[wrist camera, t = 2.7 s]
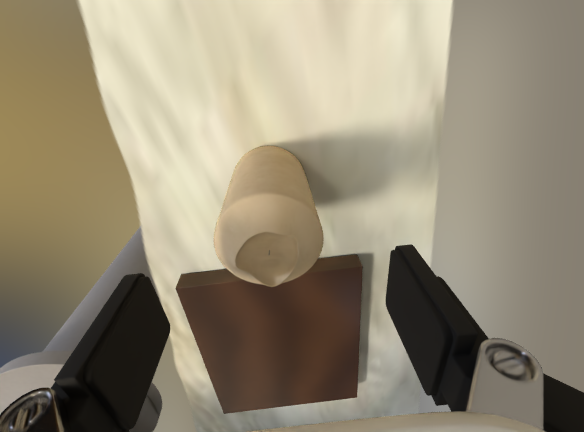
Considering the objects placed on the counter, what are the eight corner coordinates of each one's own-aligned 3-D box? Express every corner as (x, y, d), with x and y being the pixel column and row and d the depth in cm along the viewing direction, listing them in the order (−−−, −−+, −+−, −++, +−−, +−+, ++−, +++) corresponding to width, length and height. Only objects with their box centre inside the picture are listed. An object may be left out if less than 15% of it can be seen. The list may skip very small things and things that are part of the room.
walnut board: (225, 398, 35) (223, 414, 34) (181, 274, 25) (175, 288, 24) (353, 382, 35) (357, 397, 34) (357, 254, 26) (362, 266, 24)
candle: (305, 210, 23) (327, 300, 14) (237, 214, 23) (218, 309, 14) (304, 142, 21) (331, 204, 12) (228, 146, 20) (196, 212, 12)
